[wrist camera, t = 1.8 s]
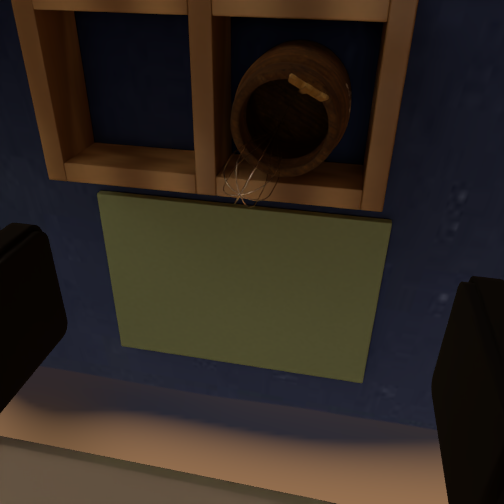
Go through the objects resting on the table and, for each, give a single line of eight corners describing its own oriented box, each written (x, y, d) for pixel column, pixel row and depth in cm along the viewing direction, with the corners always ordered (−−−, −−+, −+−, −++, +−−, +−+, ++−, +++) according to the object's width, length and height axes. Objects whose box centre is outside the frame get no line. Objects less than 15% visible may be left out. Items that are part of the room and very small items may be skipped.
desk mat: (124, 341, 41) (121, 346, 41) (100, 190, 34) (96, 193, 33) (362, 378, 38) (362, 383, 37) (391, 219, 31) (392, 223, 30)
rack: (81, 157, 33) (48, 179, 30) (50, -20, 28) (6, -19, 24) (380, 184, 30) (382, 212, 26) (412, -11, 24) (420, -7, 21)
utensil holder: (232, 111, 29) (163, 187, 19) (284, 9, 26) (233, 37, 16) (315, 161, 30) (290, 261, 20) (377, 68, 26) (384, 131, 16)
